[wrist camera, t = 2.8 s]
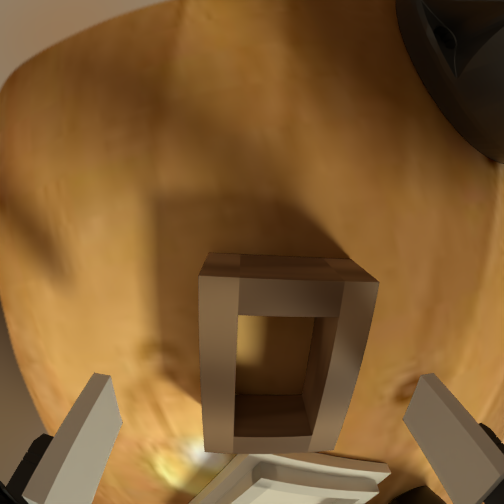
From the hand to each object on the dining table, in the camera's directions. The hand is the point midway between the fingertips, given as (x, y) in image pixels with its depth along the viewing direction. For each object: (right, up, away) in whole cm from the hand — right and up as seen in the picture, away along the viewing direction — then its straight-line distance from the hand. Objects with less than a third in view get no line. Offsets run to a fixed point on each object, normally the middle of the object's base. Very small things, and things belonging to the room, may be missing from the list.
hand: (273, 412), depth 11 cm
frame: (0, +1, +5) cm, 5 cm away
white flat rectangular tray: (+1, -16, +9) cm, 18 cm away
